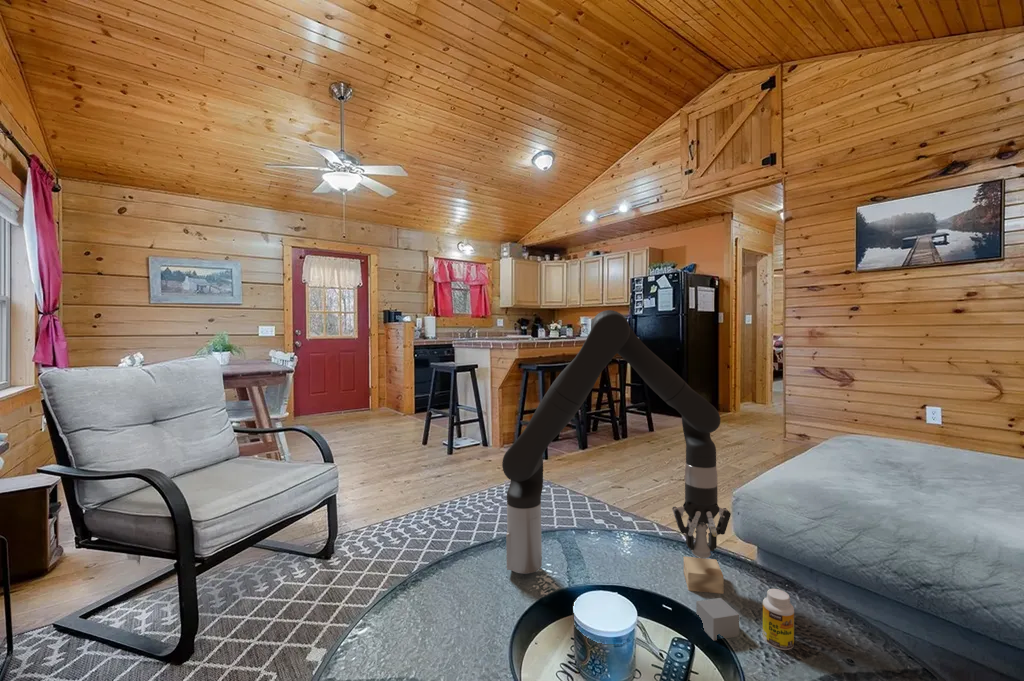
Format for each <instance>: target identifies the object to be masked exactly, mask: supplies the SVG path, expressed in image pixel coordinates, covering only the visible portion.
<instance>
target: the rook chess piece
mask: <svg viewBox="0 0 1024 681" xmlns="http://www.w3.org/2000/svg"><path fill="white" fill-rule="evenodd" d="M708 530H709V528H708V525H707V523H697V526H696V528H695V530H694V532H695V538H694V550H691V553H692V554H693V555H694V557H696V558H706V559H709V558H710V557H711V556H712V554H711V552H712V551H711V550H710V547H709V545H708V538H707V536H708V532H707V531H708Z"/></svg>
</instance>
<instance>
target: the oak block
mask: <svg viewBox="0 0 1024 681" xmlns="http://www.w3.org/2000/svg"><path fill="white" fill-rule="evenodd" d="M683 575H684V580H685V582H686V583H685V584H686V586H687V591H689V592H690V591H691V592H703V593H710V594H711V593H712V594H721V595H722V594H725V593H724V587H725V586H724V583H725V582H724V574H723V572H722V570H721V567H720V565H719V562H718V561H717V559H713V558H700V557H696V556H694V557H693V556H685V555H684V556H683Z"/></svg>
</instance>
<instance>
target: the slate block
mask: <svg viewBox="0 0 1024 681" xmlns="http://www.w3.org/2000/svg"><path fill="white" fill-rule="evenodd" d="M695 605H696V607H695V609H696V611H695V614H697V615H699V617H700V618H701V620H702V623H703V628H704V630H703V631H704V632H705V633H706V634H707V636H708V637H709V638H711V639H712V640H713V641H718V640H717V635H718V634H720V635H721V636H723V637H724V638H725V639H729V638H735V637H739V636H740V614H739V613H738V612H737V611H736V610H735V609H734V608H732V606H730V605H729V604H728V603H727V602H726V601H725V600H724V599H723V598H722V597H717V598H711V599H704V600H703V599H702V600H696V602H695Z"/></svg>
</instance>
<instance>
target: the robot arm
mask: <svg viewBox="0 0 1024 681" xmlns="http://www.w3.org/2000/svg"><path fill="white" fill-rule="evenodd" d="M590 326H591V327H590V331H589V333H588V335H587V336H586V338H585V341H584V342H583V345H582V346H581V348H580V350H579V351H578V353H577V354H576V356H575V357H574V358H573V359H572V361H570V363H568V364H567V365H566V366H565V367H564V369H562V370H561V372H560V373H559V375H557V376H556V378H555V379H554V380H553V381H552V384H551V385H550V386H549V388H548V389H547V391H546V393H545V394H544V396H543V398H542V399H541V401H540V402H539V404H538V406H537V408H536V410H534V413H533V414H532V416H531V417H530V421H529V422H528V424H527V425H526V427H525V428H524V430H523V431H522V433H521V434H520V435H519V436H518V438H517V439H516V440H515V441H514V442H513V443H512V445H511V446H510V447H509V448H508V449H507V450H506V452H505V453H504V455H503V458H502V463H501V465H502V471H503V473H504V475H505V477H506V478H507V479H508V480H510V484H509V487H508V489H507V492H506V519H507V520H506V523H507V524H506V528H507V531H506V534H505V537H506V539H505V540H506V541H505V542H506V549H505V550H506V551H505V552H506V570H507V571H508V570H509V571H513V572H514V573H517V574H522V575H523V574H525V575H526V574H533V573H535V572H537V571H539V570H540V569H541V568H542V566H543V562H542V561H543V556H542V554H543V551H542V550H543V549H542V546H543V545H542V543H543V542H542V492H543V488H544V457H543V455H544V453H545V451H546V449H548V447H549V445H550V444H551V443H552V441H554V440H555V438H556V437H558V435H559V434H560V433H561V432H562V431H563V430H564V429H565V428H566V426H567V425H568V424H569V423H570V422H571V420H573V418H574V417H575V415H576V414H577V413H578V411H579V410H580V408H581V407H582V405H583V404H584V402H585V401H586V400H587V397H588V396H589V394H590V392H591V391H592V389H593V388H594V386H595V385H596V382H597V381H598V379H599V377H600V375H601V374H602V372H603V371H604V369H605V368H606V367H607V366H608V364H609V363H610V362H611V361H612V359H614V357H615V356H616V355H619V356H620V357H621V358H622V359H623V360H624V361H625V362H627V363H628V365H630V367H632V368H633V370H634V371H635V372H636V374H637V375H639V377H640V378H641V379H642V380H643V381H644V383H645V384H646V385H647V386H648V387H649V388H650V389H651V390H652V391H653V392H654V393H655V394H656V395H658V396H659V398H660V399H662V401H664V402H665V403H666V404H667V405H668V406H669V407H671V408H673V409H675V410H676V411H677V412H678V413H679V414H680V415H681V424H682V431H683V437H684V441H685V469H684V503H683V504H682V506H679V507H676V506H672V508H671V509H672V512H673V513H672V514H674V519H675V522H676V525H677V528H678V529H679V531H680V533H681V534H685V544H686V546H687V548H688V549H689V550H690V551H692V550H694V542H695V536H694V532H695V531H696V526H697V523H706V524H707V526H708V531H709V532H707V536H708V538H707V543H708V545H709V547H710V550H711V551H710V552H714V551H715V549H717V547H718V545H717V544H718V542H717V538H718V536H719V535H723V536H724V535H725V534H726V531H727V527H728V525H729V522H730V518H731V515H732V513H731V512H730V511H729V509H727V508H726V507H720V506H719V505H718V502H719V501H718V500H719V499H718V470H717V448H716V444H715V443H714V441H713V440H712V437H711V433H714V432H715V431H717V430H718V429H719V427H720V425H721V415H720V413H719V411H718V410H717V408H716V407H715V406H714V405H713V404H712V403H710V402H709V401H708V400H707V399H706V398H705V397H704V396H702V395H701V394H699V393H698V392H697V391H695V390H694V389H693V388H692V387H690V385H689V384H688V383H687V382H686V381H685V380H684V379H683V378H682V377H681V376H680V375H679V374H678V373H677V372H675V370H673V369H672V367H670V366H669V365H668V364H667V363H665V362H664V360H662V359H661V358H660V357H659V356H658V355H656V354H655V353H654V352H653V351H652V350H651V349H649V348H648V346H646V344H644V342H643V341H642V340H641V339H640V338H639V337H638V336H637V335H636V333H635V331H633V329H632V328H631V326H630V323H629V322H628V319H627V318H626V317H625V316H624V315H623V314H622V313H620V312H618V311H615V310H611V309H607V310H603V311H601V312H599V313H597V314H596V315H595V316H594V318H593V319H592V321H591V325H590ZM684 512H685V513H686V514H687V515H688V517H687V520H686V522H687V523H686V526H685V524H684V521H683V518H682V517H683V516H684ZM717 515H718V516H719V518H718V519H719V520H718V521H717V522H718V523H717V525H716V524H715V521H714V519H715V518H716V516H717Z"/></svg>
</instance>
